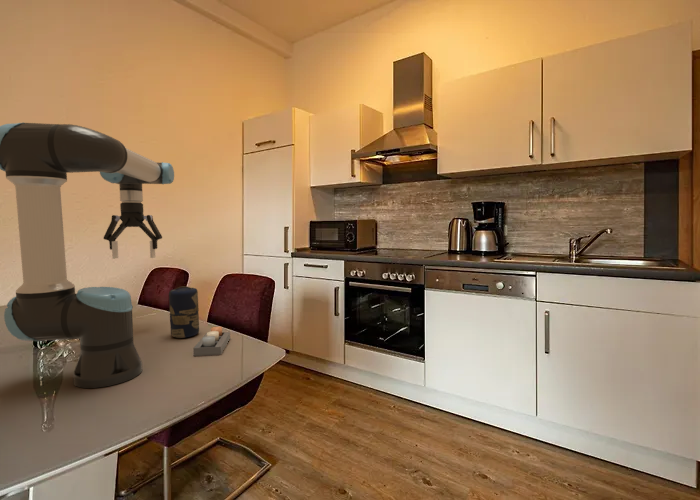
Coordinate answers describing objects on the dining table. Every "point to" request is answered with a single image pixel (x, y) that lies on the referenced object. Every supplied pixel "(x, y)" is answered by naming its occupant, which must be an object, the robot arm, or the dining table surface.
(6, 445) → the dining table surface
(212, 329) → the terracotta button
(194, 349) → the grey tray
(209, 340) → the slate button
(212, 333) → the cream button
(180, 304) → the canister
